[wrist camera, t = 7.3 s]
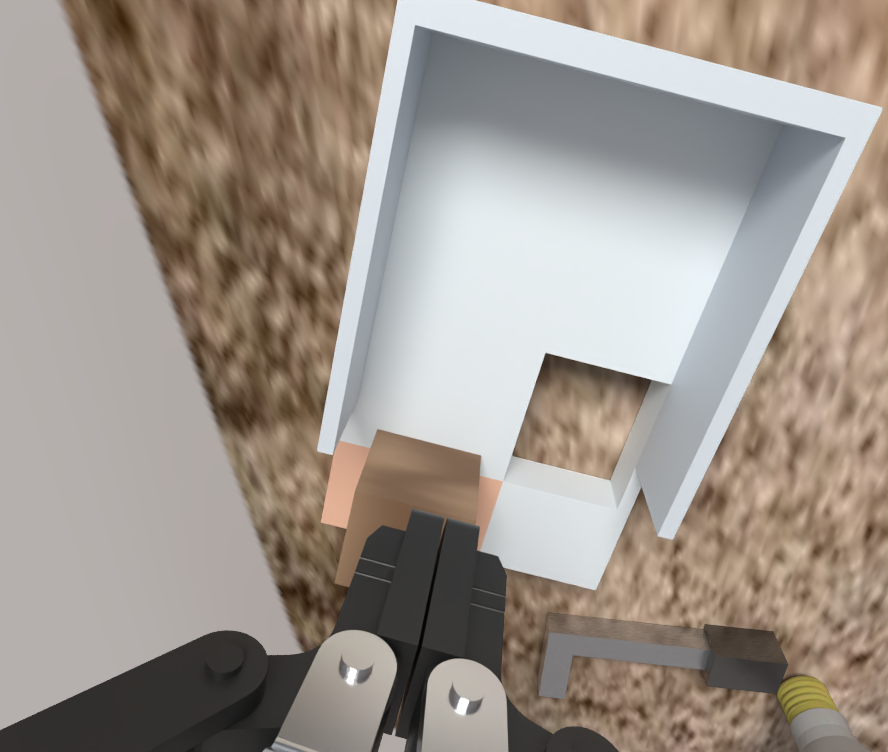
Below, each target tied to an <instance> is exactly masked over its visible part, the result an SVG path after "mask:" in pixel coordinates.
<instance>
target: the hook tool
mask: <svg viewBox="0 0 888 752" xmlns="http://www.w3.org/2000/svg"><path fill="white" fill-rule="evenodd" d="M573 655H576V656H585V657H594V658H602V659H611V660H620V661H629V662H638V663H647V664H656V665H665V666H674V667H683V668H692V669H701V670H702V673H703V676H704V679H705V683H706V686H710V687H719V688H728V689H737V690H746V691H755V692H763V693H772V694H777V692H778V690H779V687H780V684H781V682H782V679H783V676H784V674H785V671H786V669H787V666H788V663H787V660H786V658H785V656H784V654H783V652H782V650H781V648H780V645H779V643H778V641H777V639H776V637H775V635H774V633H773V632H772V631H763V630H754V629H744V628H735V627H726V626H717V625H707V624H705V625H704V629H697V628H688V627H679V626H669V625H660V624H651V623H642V622H633V621H623V620H614V619H605V618H596V617H587V616H577V615H568V614H559V613H550V612H548V615H547V621H546V627H545V633H544V639H543V646H542V652H541V658H540V664H539V670H538V691H539V696H543V697H552V698H561V699H565V694H566V689H567V683H568V678H569V673H570V668H571V662H572V657H573Z"/></svg>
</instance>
